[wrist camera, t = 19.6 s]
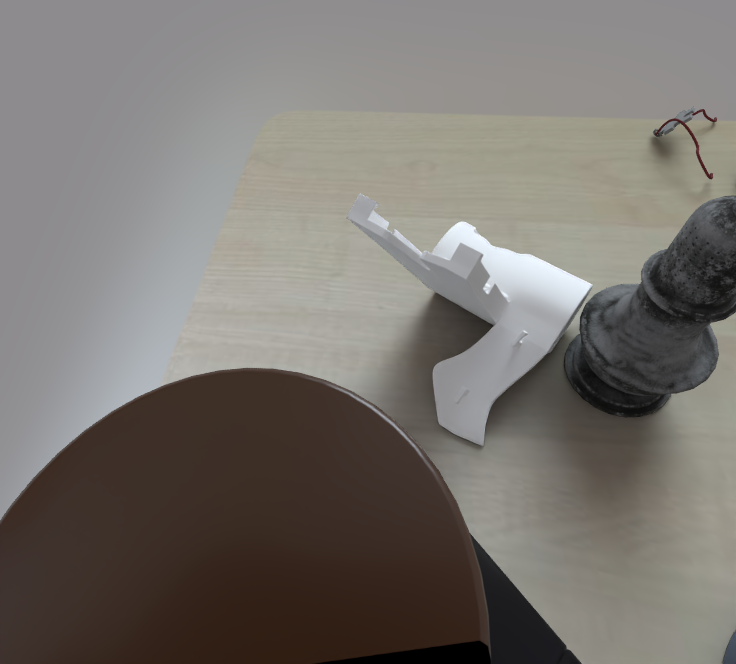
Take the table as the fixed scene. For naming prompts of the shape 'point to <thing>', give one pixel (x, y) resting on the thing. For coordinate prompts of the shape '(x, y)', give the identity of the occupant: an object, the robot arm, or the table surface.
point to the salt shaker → (659, 320)
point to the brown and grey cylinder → (241, 536)
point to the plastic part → (483, 312)
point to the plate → (731, 651)
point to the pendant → (682, 119)
